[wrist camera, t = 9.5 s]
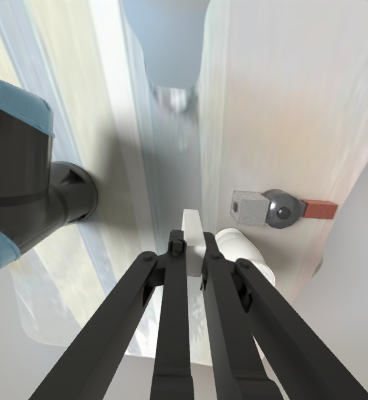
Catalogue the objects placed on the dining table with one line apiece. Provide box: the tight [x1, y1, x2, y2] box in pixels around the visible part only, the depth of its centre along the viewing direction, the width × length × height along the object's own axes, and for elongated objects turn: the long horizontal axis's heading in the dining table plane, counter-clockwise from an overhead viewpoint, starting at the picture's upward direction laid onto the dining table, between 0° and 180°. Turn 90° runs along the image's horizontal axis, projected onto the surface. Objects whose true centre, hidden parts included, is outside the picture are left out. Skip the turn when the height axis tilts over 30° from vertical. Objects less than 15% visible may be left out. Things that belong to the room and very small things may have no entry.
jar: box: [215, 228, 275, 286], centre depth 39 cm, size 11×10×15 cm
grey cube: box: [230, 191, 270, 226], centre depth 39 cm, size 6×6×6 cm
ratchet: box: [262, 189, 338, 229], centre depth 40 cm, size 22×8×6 cm, turn 87°
